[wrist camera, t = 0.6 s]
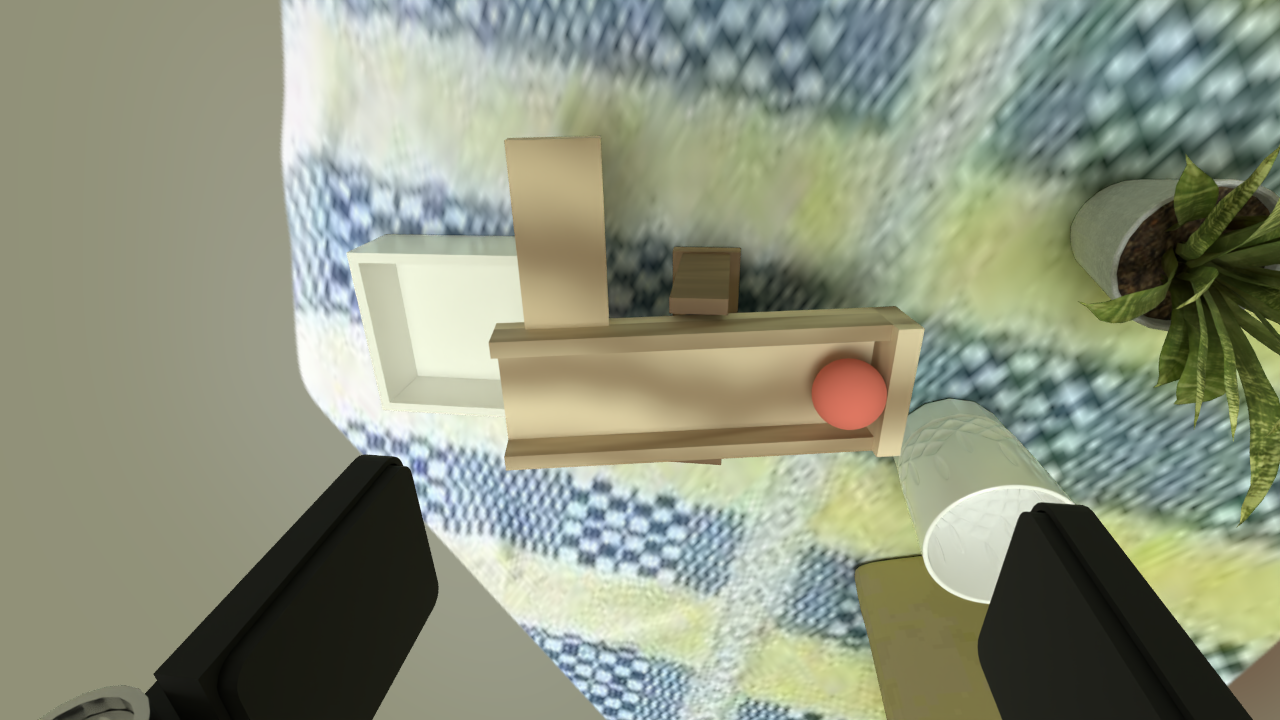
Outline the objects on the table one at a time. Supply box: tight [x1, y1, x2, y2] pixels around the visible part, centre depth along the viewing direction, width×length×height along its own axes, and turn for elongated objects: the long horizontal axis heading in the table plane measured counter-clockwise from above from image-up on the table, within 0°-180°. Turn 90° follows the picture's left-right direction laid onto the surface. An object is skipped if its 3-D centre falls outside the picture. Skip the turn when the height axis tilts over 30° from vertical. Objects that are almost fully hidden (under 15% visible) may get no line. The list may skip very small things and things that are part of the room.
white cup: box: [893, 398, 1076, 604], centre depth 35 cm, size 8×8×10 cm
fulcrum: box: [669, 247, 741, 465], centre depth 35 cm, size 10×4×9 cm, turn 1°
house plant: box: [1070, 146, 1280, 527], centre depth 26 cm, size 14×14×16 cm
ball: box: [812, 358, 887, 430], centre depth 30 cm, size 4×4×4 cm
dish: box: [347, 234, 524, 417], centre depth 39 cm, size 11×12×4 cm
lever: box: [489, 136, 924, 470], centre depth 29 cm, size 16×20×4 cm
